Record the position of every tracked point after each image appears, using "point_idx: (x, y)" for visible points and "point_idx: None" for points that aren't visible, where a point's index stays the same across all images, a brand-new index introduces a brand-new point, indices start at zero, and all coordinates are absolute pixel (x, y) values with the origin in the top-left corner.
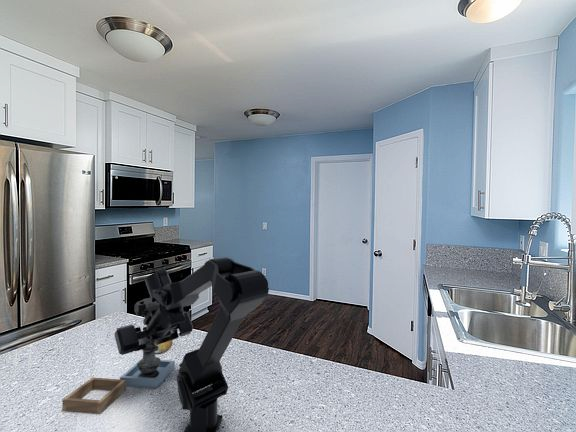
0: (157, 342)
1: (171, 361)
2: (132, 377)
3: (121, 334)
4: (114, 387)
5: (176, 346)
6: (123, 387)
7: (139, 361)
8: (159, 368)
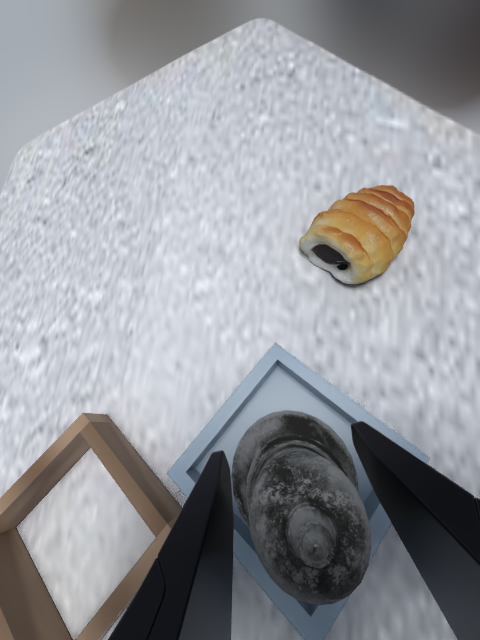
0: (375, 484)
1: None
2: None
3: None
4: (119, 586)
5: (423, 254)
6: None
7: (247, 439)
8: (340, 430)
